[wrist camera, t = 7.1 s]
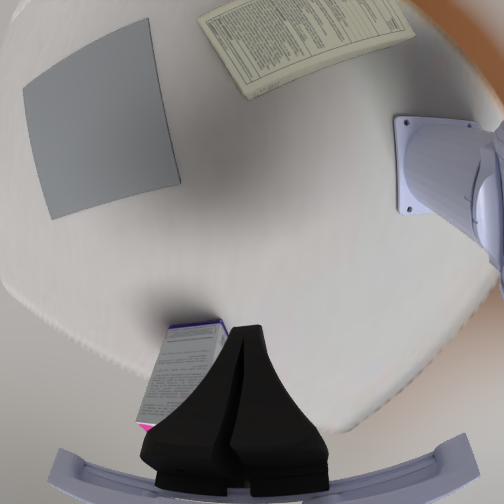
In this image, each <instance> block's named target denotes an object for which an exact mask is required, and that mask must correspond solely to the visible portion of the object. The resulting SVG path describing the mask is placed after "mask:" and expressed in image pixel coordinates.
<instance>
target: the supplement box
mask: <svg viewBox="0 0 504 504" xmlns="http://www.w3.org/2000/svg"><path fill="white" fill-rule="evenodd" d="M227 338H228V333H227V331H226V329H225V326H224V324H223V322H222V320H221V319H220V320H212V321H206V322H198V323H191V324H182V325H174V326H170V327H169V329H168V332H167V334H166V337H165V340H164V342H163V345H162V347H161V350H160V353H159V356H158V358H157V361H156V364H155V366H154V369H153V372H152V375H151V378H150V380H149V383H148V386H147V389H146V392H145V395H144V398H143V401H142V404H141V406H140V410H139V413H138V416H137V418H136V423H138V424H139V425H140V426H141V427H142V428H143V429H144V430H145V431H148V430H149V429H151V428H152V427H154V426H155V425H156V424H158V423H159V422H161V421H162V420H163V419H165V418H166V417H167V416H168V415H170V414H171V413H172V412H173V411H174V410H175V409H176V408H177V407H179V406H180V405H181V404H182V403H183V402H184V401H185V400H186V399H187V398H188V396H189V395H190V394H191V393H192V392H193V391H194V390H195V389H196V387H197V386H198V385H199V384H200V382H201V381H202V380H203V378H204V377H205V376H206V374H207V373H208V371H209V370H210V368H211V367H212V365H213V363H214V362H215V360H216V358H217V357H218V355H219V353H220V351H221V350H222V348H223V346H224V344H225V342H226V340H227Z"/></svg>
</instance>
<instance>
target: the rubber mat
mask: <svg viewBox="0 0 504 504" xmlns="http://www.w3.org/2000/svg"><path fill="white" fill-rule="evenodd" d="M23 97H24V105H25V113H26V120H27V126H28V132H29V137H30V143H31V147H32V152H33V157H34V161H35V165H36V169H37V173H38V177H39V180H40V184H41V187H42V191H43V194H44V197H45V201H46V204H47V207H48V210H49V213H50V216H51V219H52V220H54V219H57V218H60V217H63V216H66V215H69V214H72V213H75V212H78V211H81V210H84V209H88V208H91V207H94V206H97V205H101V204H104V203H108V202H111V201H115V200H118V199H122V198H125V197H129V196H133V195H136V194H140V193H144V192H148V191H152V190H156V189H160V188H164V187H168V186H173V185H177V184H181V182H180V177H179V173H178V169H177V165H176V161H175V157H174V152H173V148H172V143H171V139H170V134H169V130H168V125H167V121H166V116H165V111H164V106H163V101H162V96H161V91H160V86H159V80H158V75H157V69H156V64H155V58H154V52H153V46H152V39H151V33H150V26H149V19H148V18H146V19H143V20H140V21H138V22H135V23H133V24H131V25H128V26H126V27H124V28H121V29H119V30H117V31H115V32H113V33H111V34H109V35H106V36H104V37H102V38H100V39H99V40H97V41H95V42H93V43H91V44H89V45H87V46H85V47H84V48H82V49H80V50H78V51H77V52H75V53H73V54H72V55H70V56H68V57H67V58H65V59H63V60H62V61H60V62H59V63H57V64H56V65H54V66H53V67H51V68H50V69H48V70H47V71H45V72H44V73H43V74H41V75H40V76H38V77H37V78H36V79H34V80H33V81H32V82H30V83H29V84H28V85H26V86H25V87H24V88H23Z"/></svg>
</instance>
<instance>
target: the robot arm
mask: <svg viewBox="0 0 504 504" xmlns="http://www.w3.org/2000/svg"><path fill="white" fill-rule="evenodd" d="M405 120H406V121H407V125H406V126H405V124H404V121H405ZM468 125H469V128H468ZM394 129H395V140H396V155H397V178H398V212H399V214H401V215H402V216H407V215H415V214H423V213H431V212H435V213H436V214H438V215H439V216H440V217H442V218H443V219H445V220H446V221H448V222H449V223H450V224H452V225H453V226H455V227H456V228H457V229H459V230H460V231H461V232H463V233H464V234H465V235H467V236H468V237H469V238H471V239H472V240H473V241H474V242H476V243H477V244H478V245H479V246H481V247H482V248H483V249H484V250H485V251H486V252H487V253H488V255H489V262H490V263H491V264H492V265H493V266H494V267H495V268H496V269H497V270H498V271H499V272H501V275H500V291H501V296H502V298H503V301H504V121H503V122H501V124H500V125H499V127H498V128H497V129H496V130H495V131H494V133H493V132H489V131H484V130H480V125H479V124H478V122H474V121H466V120H457V119H446V118H432V117H411V116H397V117H396V118H395V119H394ZM408 207H410V210H409V211H407V208H408ZM328 455H329V453H328V449H327V446H326V444H325V442H324V440H323V439H322V437H321V435H320V434H319V432H318V430H317V428H316V427H315V426H314V425H313V424H312V423H311V422H310V420H309V419H308V418H307V417H306V416H305V415H304V414H303V412H302V411H301V410H300V409H299V408H298V406H297V405H296V403H295V402H294V401H293V399H292V398H291V397H290V395H289V394H288V392H287V391H286V389H285V388H284V386H283V384H282V383H281V381H280V379H279V377H278V376H277V374H276V372H275V370H274V368H273V366H272V363H271V361H270V359H269V356H268V354H267V349H266V344H265V339H264V335H263V330H262V326H261V325H250V326H240V327H233V328H232V329H231V331H230V334H229V336H228V338H227V340H226V342H225V344H224V346H223V348H222V350H221V351H220V353H219V355H218V357H217V358H216V360H215V362H214V363H213V365H212V367H211V368H210V370H209V371H208V373H207V374H206V376H205V377H204V378H203V380H202V381H201V382H200V384H199V385H198V386H197V387H196V389H195V390H194V391H193V392H192V393H191V394H190V395H189V396H188V398H187V399H186V400H185V401H184V402H183V403H182V404H181V405H180V406H179V407H177V408H176V409H175V410H174V411H173V412H172V413H171V414H170V415H168V416H167V417H166V418H165V419H163V420H162V421H161V422H159V423H158V424H156V425H155V426H154V427H152V428H151V429H149V430H148V431H147V434H146V436H145V438H144V441H143V445H142V449H141V453H140V458H141V459H142V460H143V461H144V462H145V463H146V464H148V465H149V466H150V467H152V468H153V469H155V470H156V471H157V475H156V479H155V480H153V479H148V478H143V477H139V476H135V475H130V474H126V473H123V472H119V471H115V470H112V469H108V468H104V467H101V466H98V465H95V464H92V463H89V462H86V461H84V459H82V458H81V457H79V456H78V455H76V454H74V453H72V452H69V451H67V450H64V449H62V448H59V451H58V453H57V455H56V458H55V461H54V463H53V466H52V469H51V471H50V475H49V477H48V480H47V483H48V484H50V485H52V486H54V487H55V488H57V489H59V490H61V491H62V492H64V493H66V494H68V495H71V496H72V497H74V498H76V499H78V500H80V501H83V502H85V503H87V504H211V503H201V502H192V501H184V500H177V499H175V498H180V499H187V500H194V501H204V502H215V503H232V504H269V503H285V502H286V503H287V502H298V501H303V502H302V504H431V503H433V502H435V501H438V500H440V499H442V498H444V497H446V496H448V495H450V494H452V493H454V492H456V491H458V490H459V489H461V488H463V487H465V486H466V485H468V484H470V483H471V482H473V481H474V480H476V479H478V478H479V477H480V472H479V469H478V466H477V463H476V460H475V457H474V454H473V452H472V449H471V446H470V444H469V441H468V438H467V436H466V433H462V434H460V435H458V436H456V437H454V438H452V439H450V440H447V441H445V442H443V443H442V444H440V445H438V446H437V447H436V448H435V450H434V451H433V452H430V453H428V454H425V455H423V456H421V457H418V458H415V459H412V460H409V461H407V462H404V463H401V464H398V465H395V466H392V467H389V468H385V469H381V470H378V471H374V472H370V473H366V474H363V475H358V476H354V477H349V478H345V479H340V480H334V481H329V477H328V464H327V461H328ZM167 496H168V497H167ZM171 497H173V498H171Z"/></svg>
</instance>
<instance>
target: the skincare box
mask: <svg viewBox="0 0 504 504" xmlns="http://www.w3.org/2000/svg"><path fill="white" fill-rule="evenodd" d="M196 20H197V22H198V24H199V26H200V27H201V29H202V30H203V32H204V34H205V35H206V37H207V38H208V40H209V41H210V43H211V44H212V46H213V47H214V49H215V50H216V52H217V54H218V55H219V57H220V58H221V60H222V62H223V63H224V65H225V66H226V68H227V70H228V71H229V73H230V75H231V76H232V78H233V79H234V81H235V83H236V84H237V86H238V88H239V89H240V91H241V93H242V95H243V96H244V98H245V99H247V100H248V101H249V100H252V99H253V98H256V97H258V96H260V95H262V94H264V93H266V92H268V91H270V90H272V89H275V88H277V87H279V86H281V85H283V84H286V83H288V82H290V81H293V80H295V79H297V78H300V77H302V76H305V75H307V74H310V73H312V72H315V71H317V70H320V69H323V68H325V67H328V66H331V65H333V64H336V63H339V62H342V61H345V60H348V59H351V58H354V57H357V56H360V55H363V54H367V53H370V52H373V51H377V50H380V49H384V48H388V47H391V46H394V45H397V44H399V43H402V42H404V41H406V40H409V39H411V38H413V37H415V36H416V35H415V33H414V32H413V30H412V28H411V26H410V25H409V23H408V21H407V19H406V18H405V16H404V14H403V13H402V11H401V9H400V8H399V6H398V4H397V3H396V1H395V0H234V1H231V2H229V3H227V4H225V5H223V6H220V7H218V8H216V9H214V10H212V11H210V12H208V13H206V14H204V15H202V16H200V17H198V18H197V19H196Z"/></svg>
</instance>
